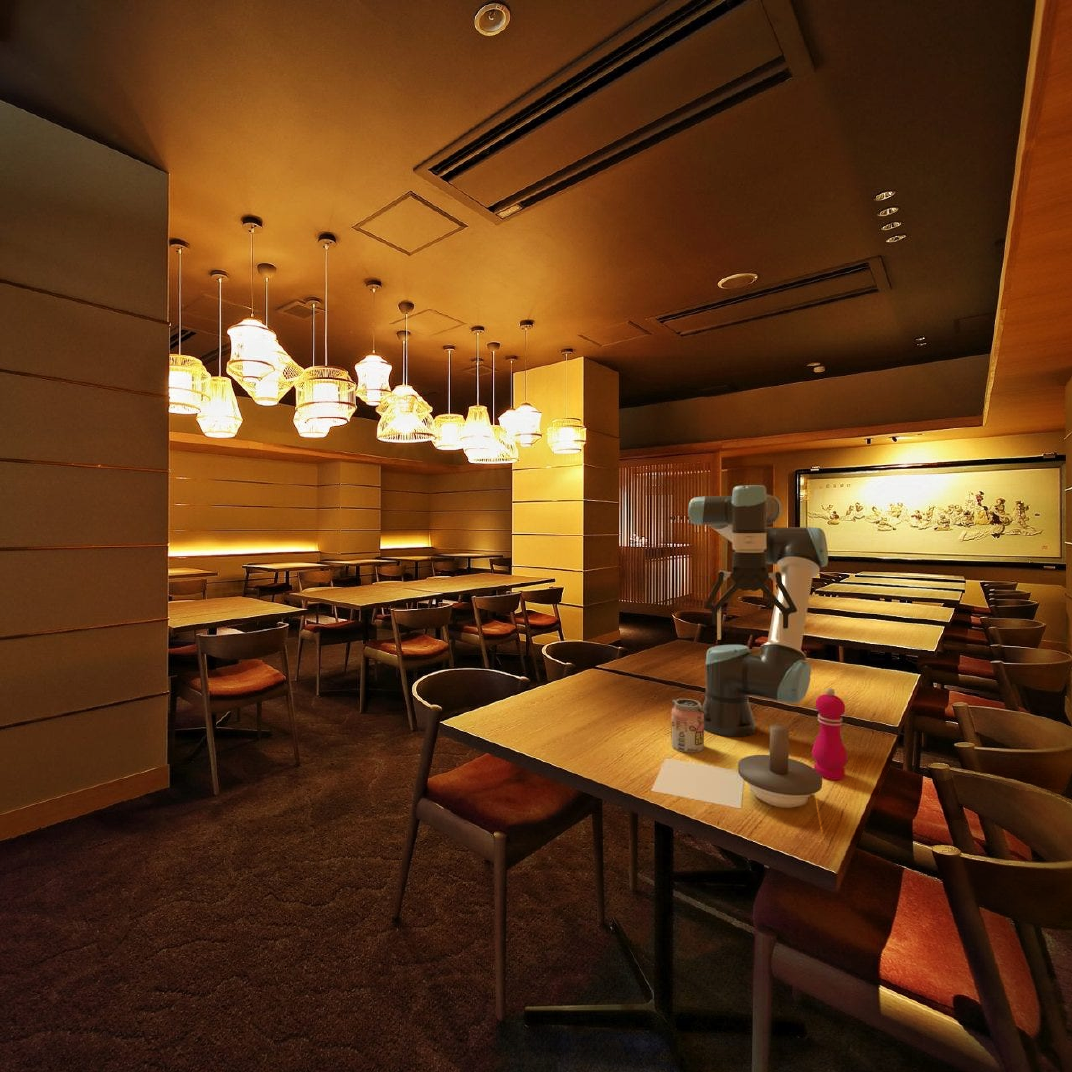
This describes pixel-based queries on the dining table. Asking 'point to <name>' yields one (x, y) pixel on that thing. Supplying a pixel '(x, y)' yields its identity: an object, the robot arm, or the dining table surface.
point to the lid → (779, 768)
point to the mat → (700, 782)
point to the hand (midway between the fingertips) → (749, 640)
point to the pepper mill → (830, 737)
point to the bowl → (779, 798)
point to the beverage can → (687, 726)
